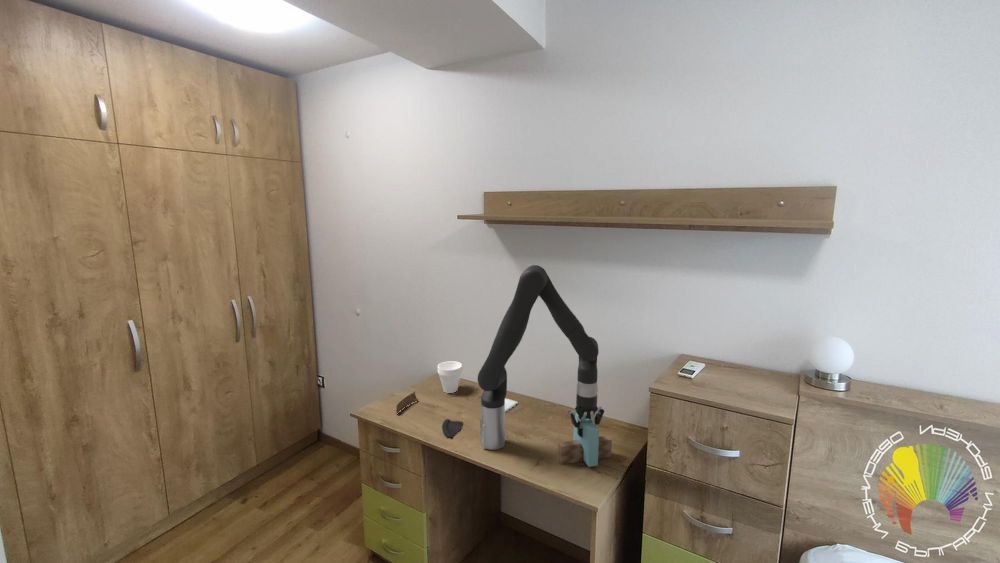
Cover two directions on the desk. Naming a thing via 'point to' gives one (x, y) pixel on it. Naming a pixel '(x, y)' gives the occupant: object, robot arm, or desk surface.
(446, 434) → the curved wedge
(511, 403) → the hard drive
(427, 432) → the desk surface
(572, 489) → the desk surface
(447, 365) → the cup
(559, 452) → the walnut slotted board
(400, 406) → the brown curved strip
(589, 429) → the teal notched plate
